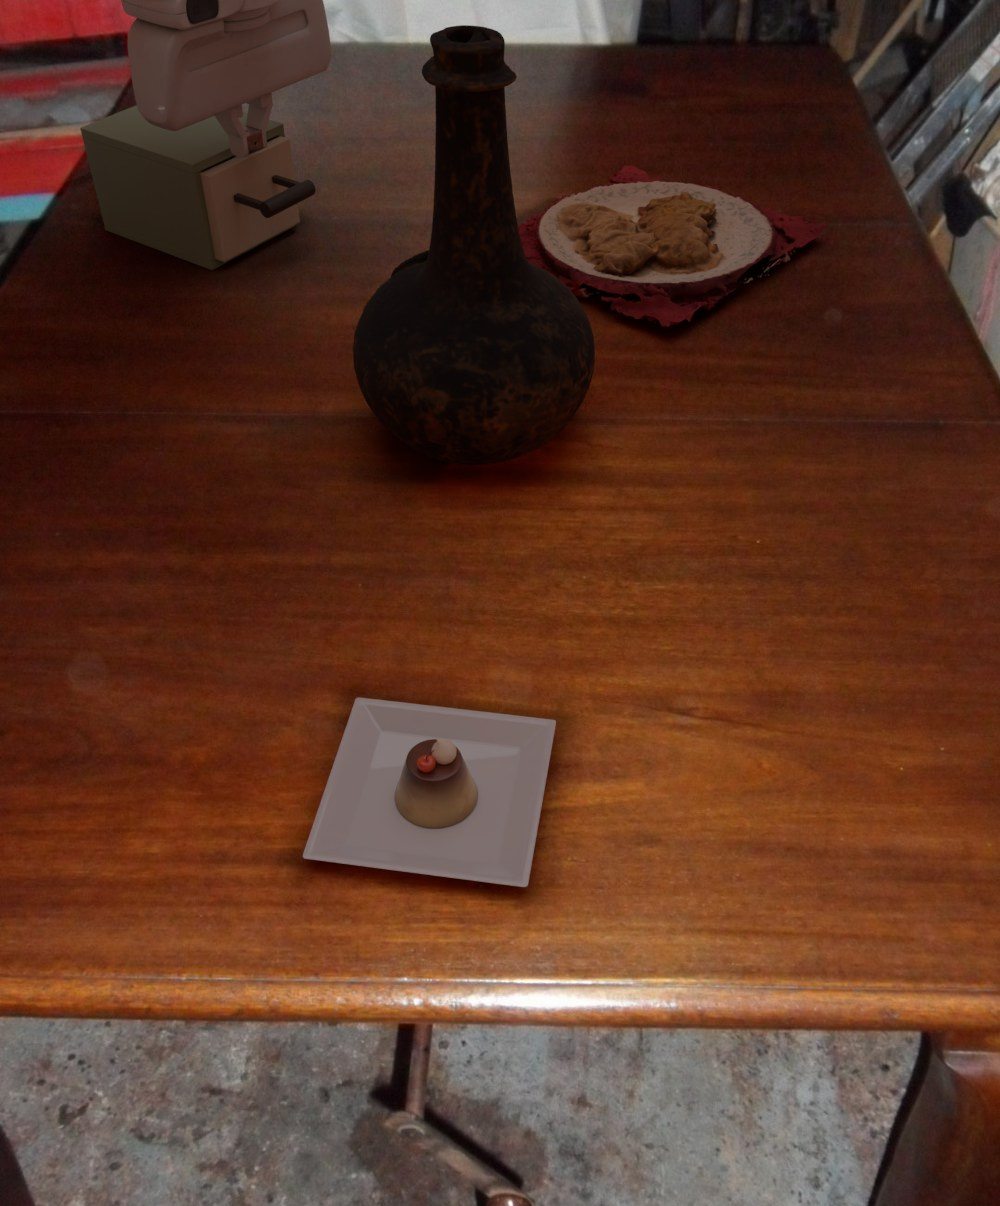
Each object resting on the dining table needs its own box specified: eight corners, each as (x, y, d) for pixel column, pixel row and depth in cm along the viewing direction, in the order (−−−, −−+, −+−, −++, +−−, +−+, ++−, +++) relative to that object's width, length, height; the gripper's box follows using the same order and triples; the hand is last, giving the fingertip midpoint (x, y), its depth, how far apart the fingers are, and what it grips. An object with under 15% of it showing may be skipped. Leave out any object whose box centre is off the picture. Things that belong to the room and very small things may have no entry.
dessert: (304, 870, 63) (292, 814, 60) (357, 709, 71) (350, 651, 68) (527, 899, 62) (528, 843, 58) (555, 732, 70) (558, 674, 67)
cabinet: (296, 226, 117) (283, 123, 110) (212, 270, 110) (192, 164, 103) (191, 189, 123) (172, 90, 116) (105, 230, 116) (79, 127, 109)
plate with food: (824, 244, 114) (832, 208, 112) (669, 339, 101) (674, 300, 98) (627, 180, 125) (629, 146, 123) (462, 258, 112) (462, 221, 109)
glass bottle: (508, 349, 100) (509, -30, 80) (638, 449, 90) (677, 44, 70) (320, 412, 94) (269, 16, 73) (437, 528, 83) (415, 106, 63)
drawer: (337, 234, 113) (328, 150, 108) (261, 276, 108) (248, 189, 102) (201, 188, 121) (186, 107, 115) (123, 225, 115) (104, 141, 109)
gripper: (285, -60, 103) (302, 110, 113) (102, -5, 91) (139, 179, 101) (340, -47, 100) (352, 125, 110) (159, 11, 89) (191, 198, 99)
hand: (249, 151), depth 106 cm, fingers closed
